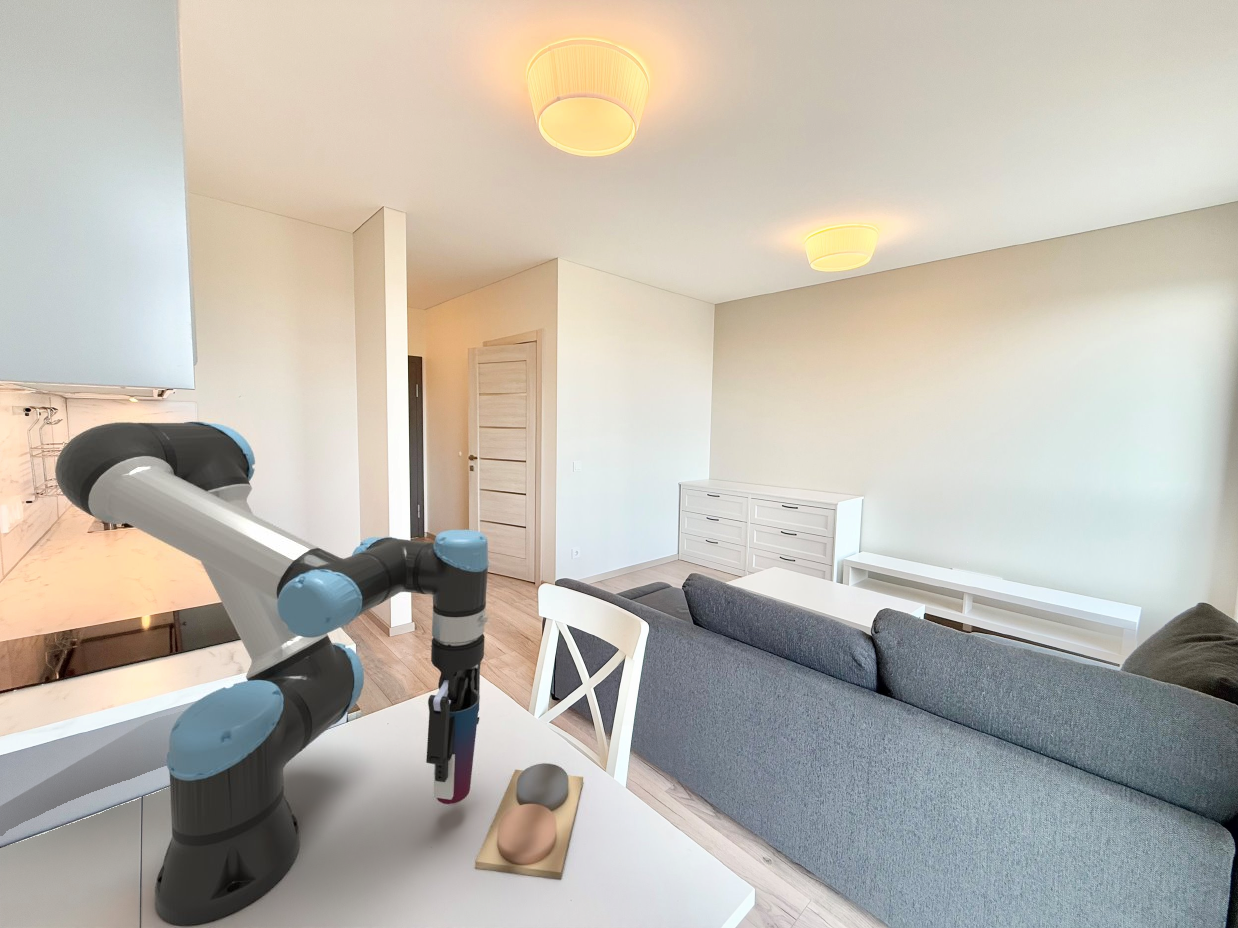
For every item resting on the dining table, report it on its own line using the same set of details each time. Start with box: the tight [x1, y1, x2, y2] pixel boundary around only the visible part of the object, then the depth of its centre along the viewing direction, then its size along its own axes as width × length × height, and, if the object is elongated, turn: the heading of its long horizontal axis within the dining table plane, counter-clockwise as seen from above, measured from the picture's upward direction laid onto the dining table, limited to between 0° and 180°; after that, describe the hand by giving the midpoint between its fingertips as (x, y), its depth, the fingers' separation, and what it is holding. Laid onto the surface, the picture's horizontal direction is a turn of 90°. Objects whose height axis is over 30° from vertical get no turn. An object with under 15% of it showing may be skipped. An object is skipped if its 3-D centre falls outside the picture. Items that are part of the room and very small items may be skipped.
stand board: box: [474, 762, 584, 880], centre depth 76 cm, size 12×18×3 cm, turn 175°
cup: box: [433, 689, 481, 805], centre depth 74 cm, size 7×7×15 cm
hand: (453, 779), depth 75 cm, fingers closed on cup, 6 cm apart
